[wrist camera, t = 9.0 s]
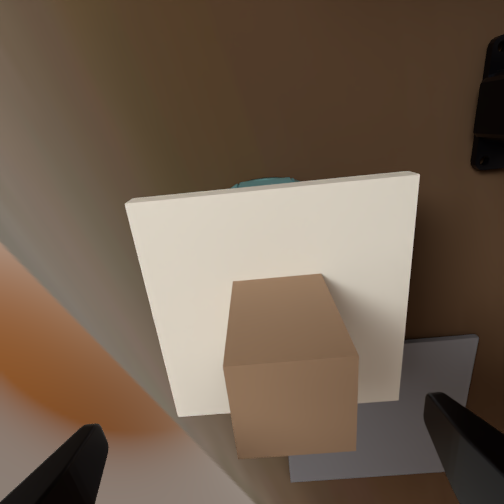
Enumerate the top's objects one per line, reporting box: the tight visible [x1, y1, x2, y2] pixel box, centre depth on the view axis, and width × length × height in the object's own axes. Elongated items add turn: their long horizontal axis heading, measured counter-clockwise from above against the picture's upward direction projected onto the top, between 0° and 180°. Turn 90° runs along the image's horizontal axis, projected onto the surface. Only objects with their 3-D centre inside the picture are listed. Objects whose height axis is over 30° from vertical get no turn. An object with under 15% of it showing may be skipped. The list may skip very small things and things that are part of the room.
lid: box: [125, 171, 420, 459], centre depth 13 cm, size 12×12×6 cm
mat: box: [288, 334, 479, 482], centre depth 26 cm, size 14×14×1 cm
